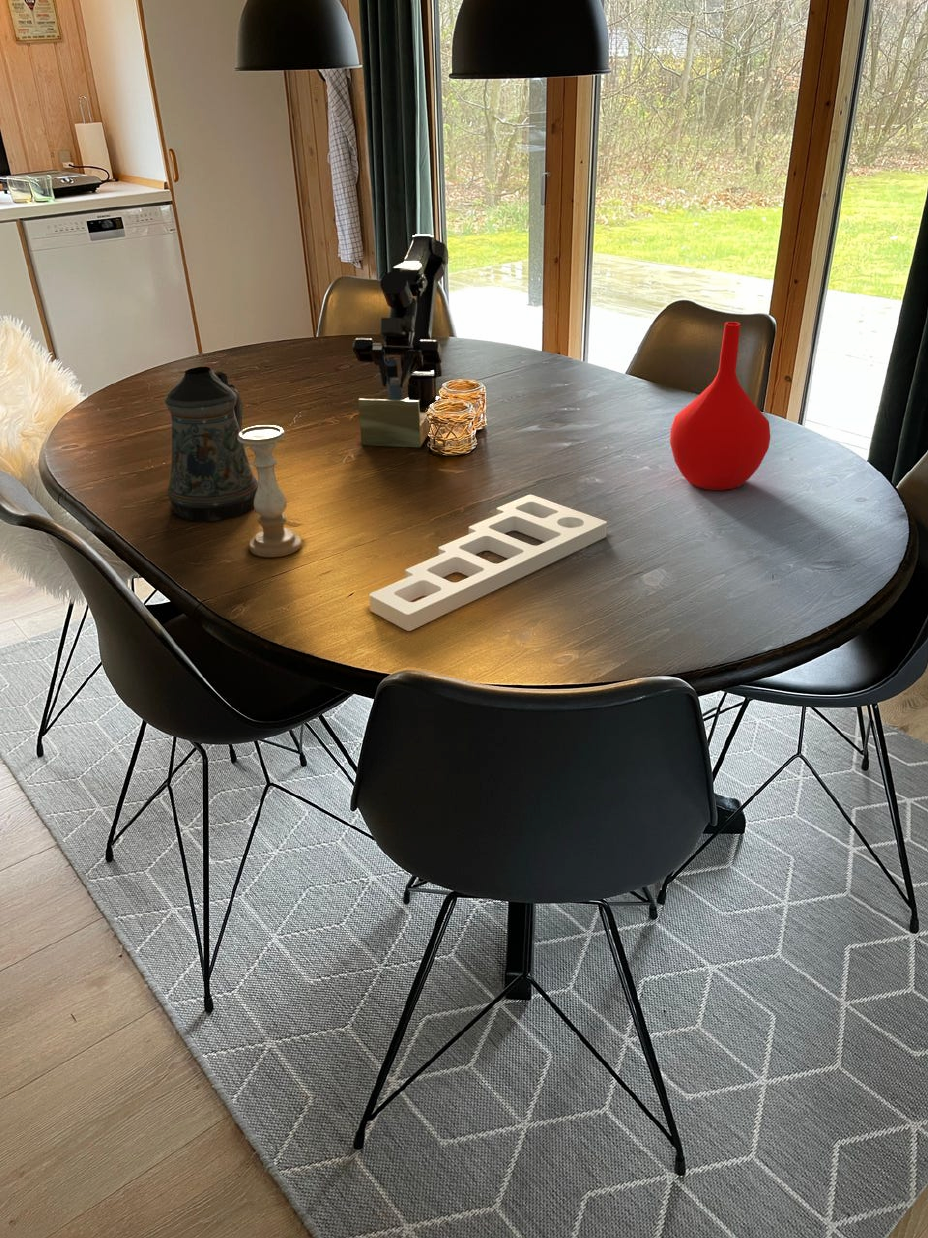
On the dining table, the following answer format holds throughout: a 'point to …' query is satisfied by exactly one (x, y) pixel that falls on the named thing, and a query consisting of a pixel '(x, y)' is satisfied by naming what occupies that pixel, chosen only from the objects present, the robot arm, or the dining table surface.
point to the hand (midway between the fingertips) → (392, 386)
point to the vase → (720, 428)
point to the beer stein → (208, 449)
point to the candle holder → (268, 495)
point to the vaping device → (393, 380)
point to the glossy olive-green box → (392, 423)
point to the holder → (525, 515)
